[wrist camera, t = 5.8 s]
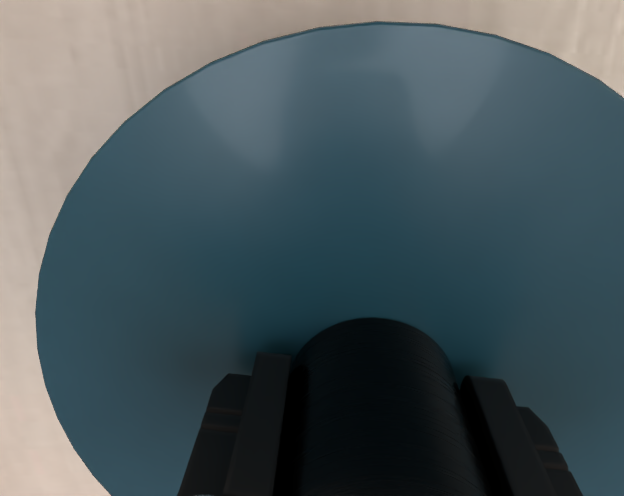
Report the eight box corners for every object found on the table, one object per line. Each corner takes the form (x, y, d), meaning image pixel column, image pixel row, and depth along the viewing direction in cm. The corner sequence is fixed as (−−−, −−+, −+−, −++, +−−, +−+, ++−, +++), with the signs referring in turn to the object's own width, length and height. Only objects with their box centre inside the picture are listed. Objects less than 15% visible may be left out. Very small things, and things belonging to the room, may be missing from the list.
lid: (21, -23, 9) (-448, -80, 4) (833, 69, 9) (1566, 148, 4) (84, 533, 15) (-61, 828, 10) (578, 588, 15) (714, 916, 10)
